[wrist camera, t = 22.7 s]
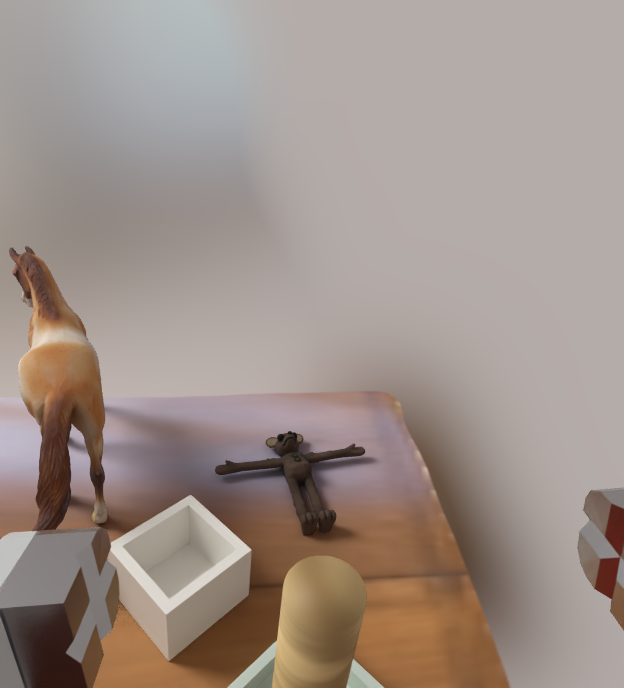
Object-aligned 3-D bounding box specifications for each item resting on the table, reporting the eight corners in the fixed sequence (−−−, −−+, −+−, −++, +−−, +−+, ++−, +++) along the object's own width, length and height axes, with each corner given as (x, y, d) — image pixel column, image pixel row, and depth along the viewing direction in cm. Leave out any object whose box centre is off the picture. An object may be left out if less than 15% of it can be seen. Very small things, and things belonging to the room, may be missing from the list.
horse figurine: (37, 392, 70) (8, 242, 60) (100, 384, 73) (83, 239, 63) (29, 597, 46) (-22, 402, 36) (124, 572, 49) (102, 386, 38)
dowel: (283, 812, 34) (311, 647, 25) (253, 743, 37) (268, 575, 28) (340, 771, 36) (384, 607, 27) (306, 709, 39) (336, 544, 31)
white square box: (168, 661, 42) (166, 614, 39) (112, 592, 47) (106, 545, 44) (248, 595, 48) (251, 549, 45) (191, 538, 53) (190, 494, 50)
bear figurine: (230, 532, 50) (209, 425, 61) (229, 559, 53) (209, 451, 64) (402, 502, 56) (354, 409, 67) (393, 528, 58) (349, 433, 69)
